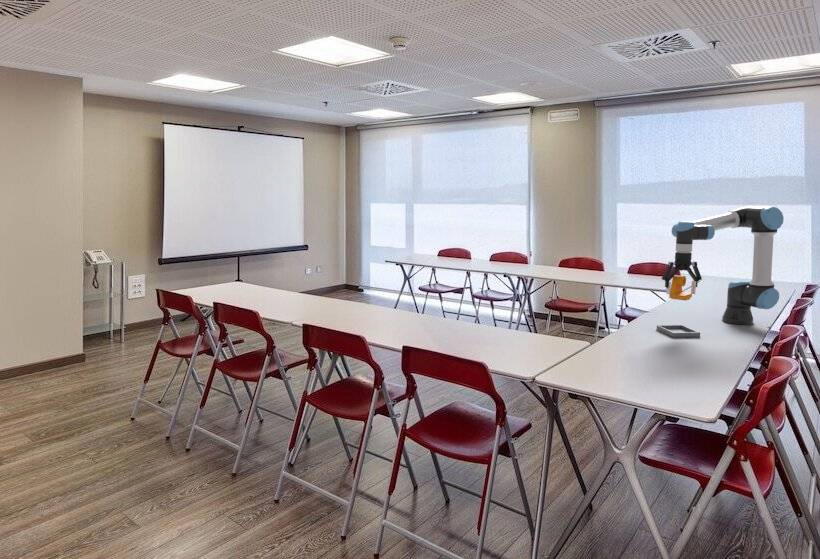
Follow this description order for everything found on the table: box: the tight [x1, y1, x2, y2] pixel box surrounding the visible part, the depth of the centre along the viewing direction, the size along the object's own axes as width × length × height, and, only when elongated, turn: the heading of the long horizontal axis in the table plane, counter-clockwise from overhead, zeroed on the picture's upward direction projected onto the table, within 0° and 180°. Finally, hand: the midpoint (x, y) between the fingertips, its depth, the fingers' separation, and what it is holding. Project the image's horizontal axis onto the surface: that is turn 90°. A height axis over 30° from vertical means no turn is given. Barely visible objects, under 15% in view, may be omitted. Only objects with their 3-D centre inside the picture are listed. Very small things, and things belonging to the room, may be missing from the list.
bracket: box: [668, 274, 693, 301], centre depth 289 cm, size 11×7×12 cm, turn 133°
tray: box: [656, 324, 701, 339], centre depth 292 cm, size 14×17×2 cm
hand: (680, 293), depth 290 cm, fingers closed on bracket, 12 cm apart
